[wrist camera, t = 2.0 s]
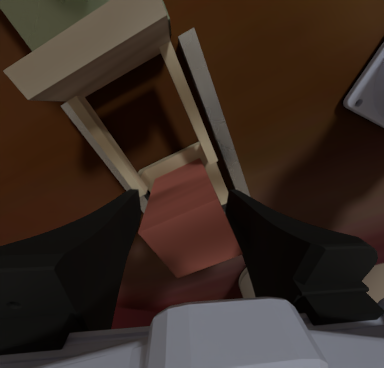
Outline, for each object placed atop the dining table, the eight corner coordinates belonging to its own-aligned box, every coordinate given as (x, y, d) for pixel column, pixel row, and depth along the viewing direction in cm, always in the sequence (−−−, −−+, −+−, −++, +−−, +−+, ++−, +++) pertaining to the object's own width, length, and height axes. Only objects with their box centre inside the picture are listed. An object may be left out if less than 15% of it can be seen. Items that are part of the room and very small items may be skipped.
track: (249, 202, 16) (259, 214, 14) (167, 236, 17) (166, 251, 15) (69, -325, 5) (13, -549, 3) (-115, -141, 6) (-227, -235, 5)
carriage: (229, 196, 15) (264, 258, 9) (173, 220, 16) (170, 292, 10) (164, 38, 9) (139, -84, 3) (83, 86, 10) (-59, 58, 4)
